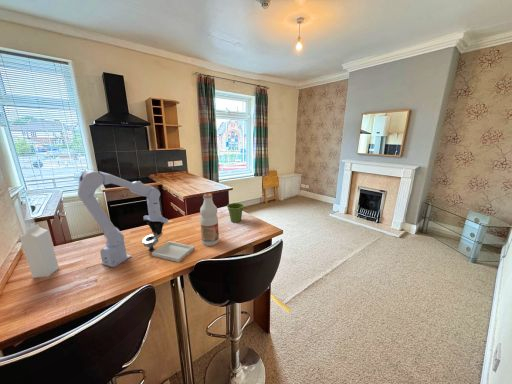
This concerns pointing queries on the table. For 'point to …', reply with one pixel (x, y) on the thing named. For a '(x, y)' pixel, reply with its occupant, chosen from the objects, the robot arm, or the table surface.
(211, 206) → the fruit juice
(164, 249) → the tray
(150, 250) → the knob
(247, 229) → the table surface
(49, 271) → the milk
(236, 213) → the plant pot
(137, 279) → the table surface
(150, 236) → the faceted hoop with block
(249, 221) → the table surface
